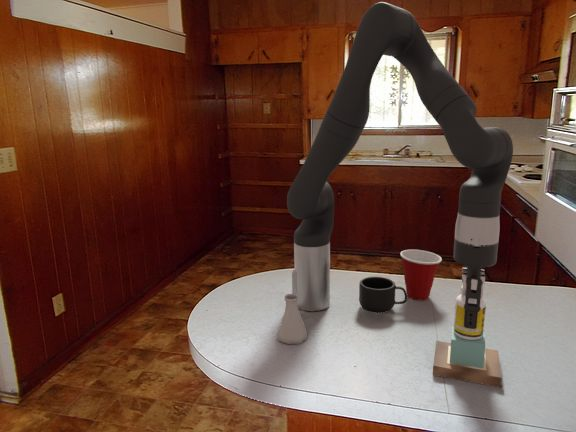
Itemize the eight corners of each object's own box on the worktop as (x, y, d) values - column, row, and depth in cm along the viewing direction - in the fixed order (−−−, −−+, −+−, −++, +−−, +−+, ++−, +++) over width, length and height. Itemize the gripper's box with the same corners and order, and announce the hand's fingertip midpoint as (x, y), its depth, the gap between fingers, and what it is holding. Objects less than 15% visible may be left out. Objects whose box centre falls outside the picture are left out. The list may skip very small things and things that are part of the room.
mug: (357, 314, 112) (357, 288, 111) (360, 299, 121) (361, 275, 119) (406, 319, 109) (407, 292, 108) (406, 303, 118) (407, 278, 116)
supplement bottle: (486, 342, 84) (490, 294, 82) (455, 339, 85) (459, 292, 83) (479, 328, 90) (483, 282, 87) (451, 326, 91) (454, 281, 88)
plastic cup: (444, 305, 117) (446, 261, 114) (401, 304, 117) (403, 261, 115) (434, 288, 127) (436, 248, 124) (395, 288, 128) (397, 248, 125)
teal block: (449, 362, 87) (451, 339, 86) (450, 347, 92) (452, 325, 91) (483, 368, 85) (485, 344, 84) (482, 352, 90) (484, 329, 89)
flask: (311, 331, 104) (311, 291, 102) (302, 347, 98) (302, 305, 95) (282, 327, 107) (281, 288, 104) (271, 342, 100) (270, 301, 98)
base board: (432, 374, 87) (433, 365, 86) (435, 349, 96) (436, 340, 95) (500, 387, 82) (501, 377, 82) (497, 359, 91) (498, 349, 91)
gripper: (455, 226, 90) (450, 300, 94) (453, 246, 78) (447, 331, 81) (496, 229, 88) (489, 305, 92) (501, 250, 75) (492, 338, 79)
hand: (469, 317), depth 86 cm, fingers open, 8 cm apart
